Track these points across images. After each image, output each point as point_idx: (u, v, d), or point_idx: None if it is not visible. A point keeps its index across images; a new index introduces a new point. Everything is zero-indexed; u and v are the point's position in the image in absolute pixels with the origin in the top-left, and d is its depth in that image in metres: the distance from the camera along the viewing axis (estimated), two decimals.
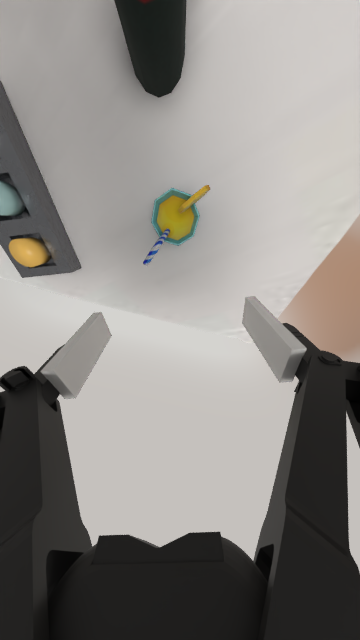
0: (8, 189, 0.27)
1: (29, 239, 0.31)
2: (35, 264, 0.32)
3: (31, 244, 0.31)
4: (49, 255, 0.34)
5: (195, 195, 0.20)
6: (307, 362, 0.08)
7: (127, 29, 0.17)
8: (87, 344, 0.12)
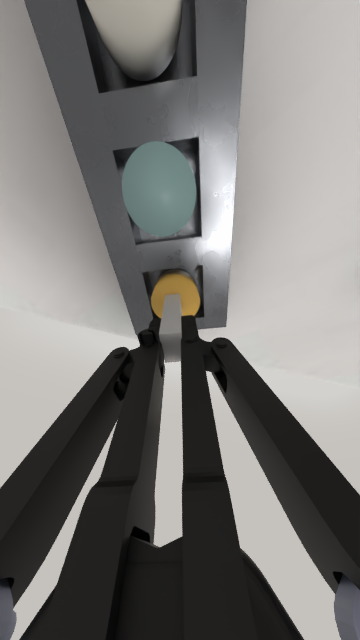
0: None
1: (184, 276, 0.17)
2: None
3: (194, 286, 0.16)
4: None
5: None
6: None
7: None
8: None
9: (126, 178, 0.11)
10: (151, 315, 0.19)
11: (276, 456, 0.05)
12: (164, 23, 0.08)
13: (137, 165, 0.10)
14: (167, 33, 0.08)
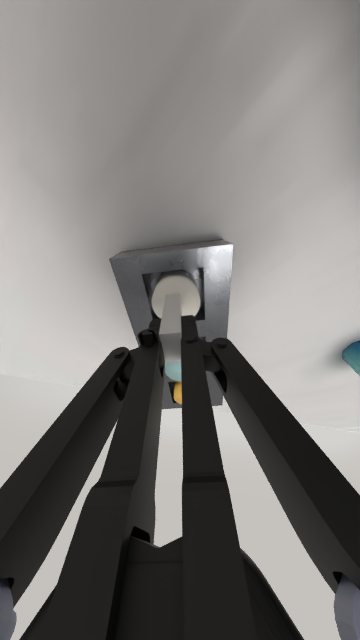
0: None
1: None
2: None
3: None
4: None
5: None
6: None
7: None
8: None
9: (167, 365, 0.20)
10: (171, 400, 0.29)
11: (276, 456, 0.05)
12: None
13: None
14: None
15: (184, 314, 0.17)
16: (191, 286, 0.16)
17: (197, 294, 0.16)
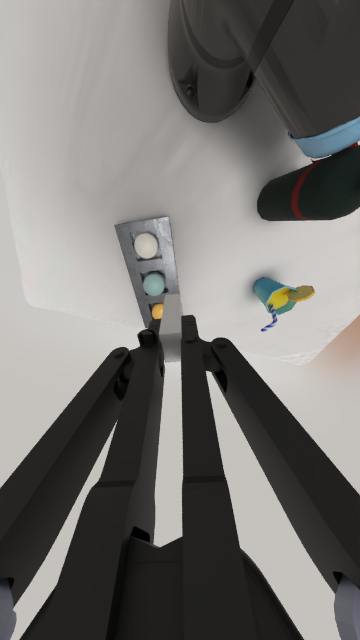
0: (162, 279, 0.40)
1: None
2: None
3: None
4: None
5: (308, 297, 0.33)
6: None
7: (279, 213, 0.30)
8: None
9: (144, 283, 0.39)
10: (151, 319, 0.48)
11: (276, 456, 0.05)
12: (154, 254, 0.38)
13: (147, 280, 0.38)
14: None
15: (150, 252, 0.37)
16: (151, 236, 0.35)
17: (155, 241, 0.35)
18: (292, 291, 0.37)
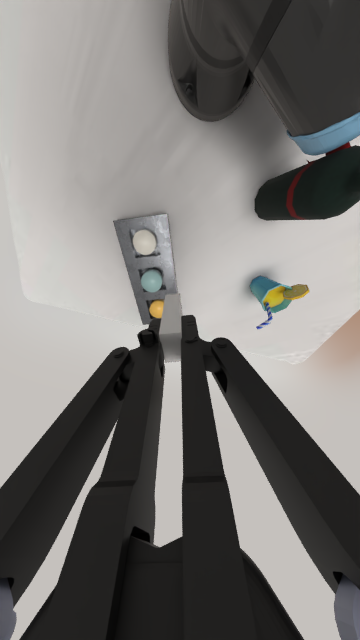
0: (160, 276, 0.40)
1: (161, 300, 0.46)
2: None
3: None
4: None
5: (302, 295, 0.34)
6: None
7: (275, 212, 0.31)
8: None
9: (142, 279, 0.39)
10: (149, 316, 0.48)
11: (276, 456, 0.05)
12: (152, 251, 0.38)
13: (145, 276, 0.39)
14: (153, 250, 0.39)
15: (148, 249, 0.37)
16: (150, 233, 0.35)
17: (153, 237, 0.36)
18: (287, 290, 0.38)
